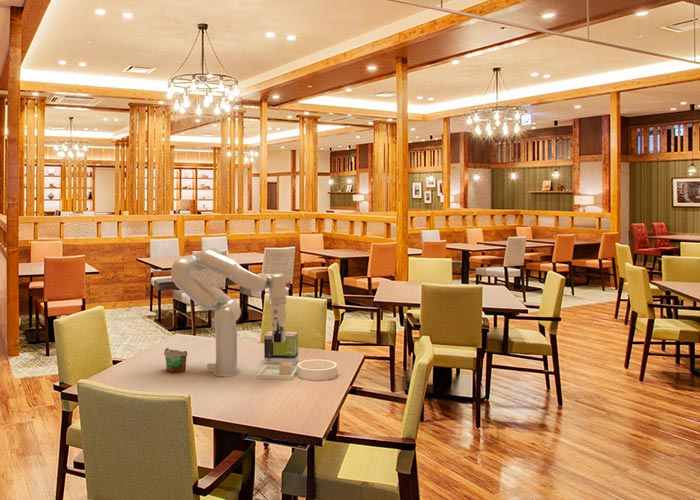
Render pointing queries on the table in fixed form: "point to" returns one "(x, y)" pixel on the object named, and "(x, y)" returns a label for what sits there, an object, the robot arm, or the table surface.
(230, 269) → the robot arm
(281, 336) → the slate cube
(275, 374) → the tray
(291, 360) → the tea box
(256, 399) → the table surface
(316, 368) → the bowl
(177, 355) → the food container
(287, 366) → the sandstone cube
